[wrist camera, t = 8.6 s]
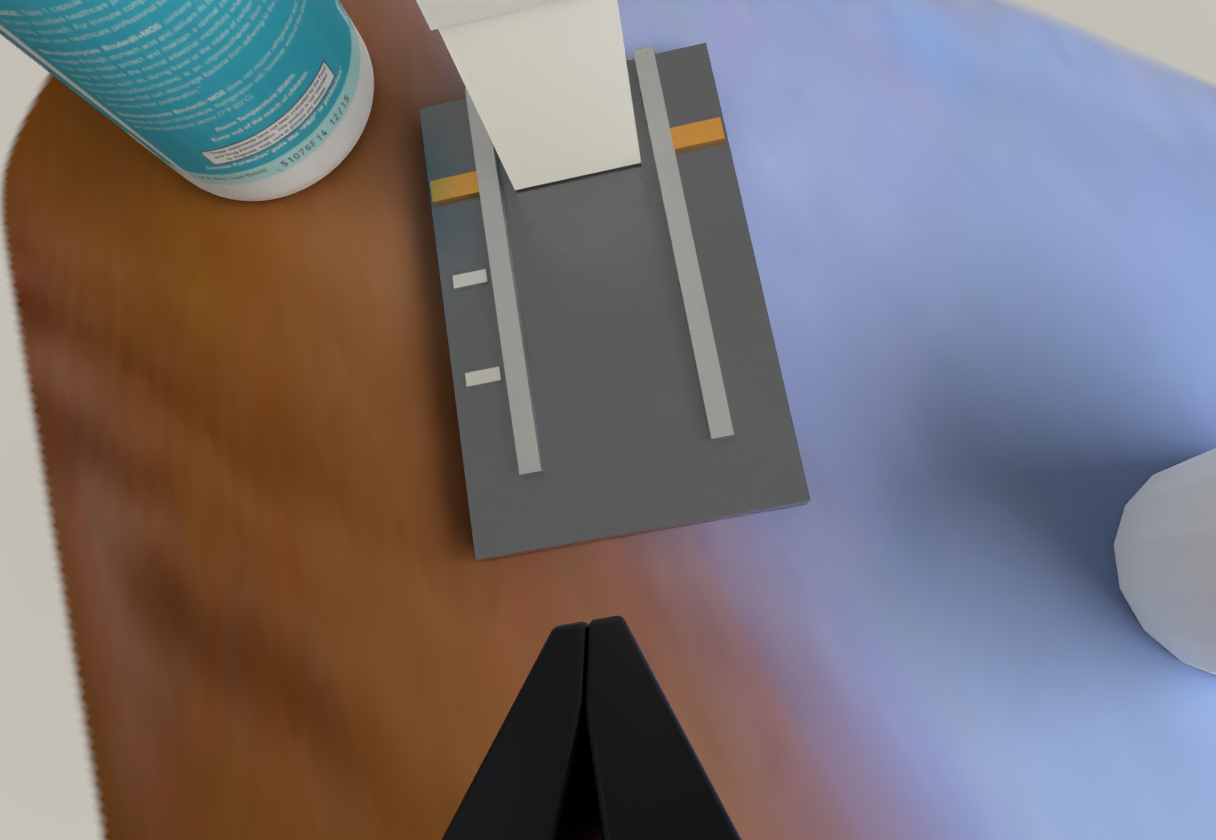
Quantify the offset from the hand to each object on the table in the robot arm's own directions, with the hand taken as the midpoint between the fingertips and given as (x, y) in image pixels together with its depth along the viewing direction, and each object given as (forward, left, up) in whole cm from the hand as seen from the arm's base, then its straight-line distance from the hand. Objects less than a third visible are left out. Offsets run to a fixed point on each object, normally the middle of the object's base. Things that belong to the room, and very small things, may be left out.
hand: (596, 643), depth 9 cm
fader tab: (+11, +9, -11) cm, 18 cm away
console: (+7, +6, -12) cm, 15 cm away
